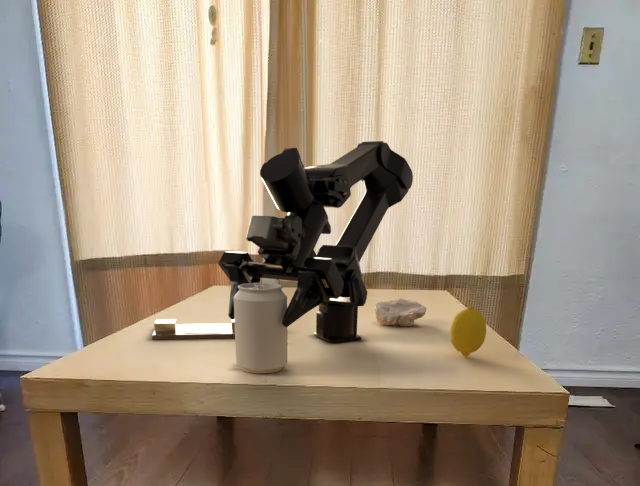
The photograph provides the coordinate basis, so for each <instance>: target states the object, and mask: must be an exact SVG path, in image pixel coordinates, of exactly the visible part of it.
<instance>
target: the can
mask: <svg viewBox="0 0 640 486" xmlns="http://www.w3.org/2000/svg"><path fill="white" fill-rule="evenodd" d="M238 288H239V291H238V292H237V293H236V294H235V296H234V320H235V338H234V342H235V343H234V344H235V345H234V346H235V364H236V365H237V366H239V367H240V368H241V370H242V371H243V372H246V373H251V374H271V373H276V372H280V371H281V370H282V369H283V368H284V367H285V366H286V365H287V364H288V327H284V325H283V324H282V320H283V317H284V315H285V312H286V310H287V308H288V296H287V295H286V294H285V292H284V291H283V285H282V284H279V283H271V282H259V283H246V284H241V285H238Z"/></svg>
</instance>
